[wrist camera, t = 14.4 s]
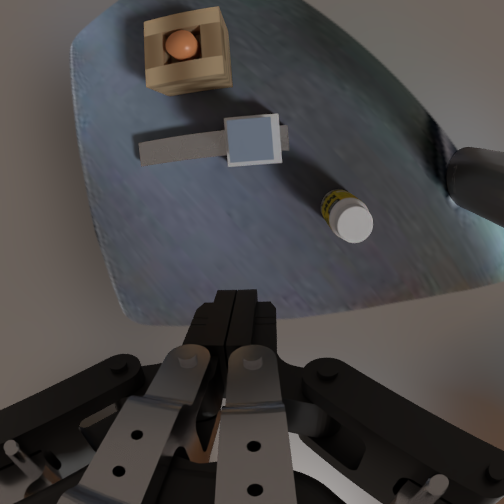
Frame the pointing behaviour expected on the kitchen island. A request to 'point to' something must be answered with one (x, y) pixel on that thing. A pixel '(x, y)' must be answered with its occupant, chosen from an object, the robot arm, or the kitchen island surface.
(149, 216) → the kitchen island surface
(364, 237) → the supplement bottle
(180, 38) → the brown egg
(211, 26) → the open wooden box
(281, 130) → the rail
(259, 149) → the carriage
